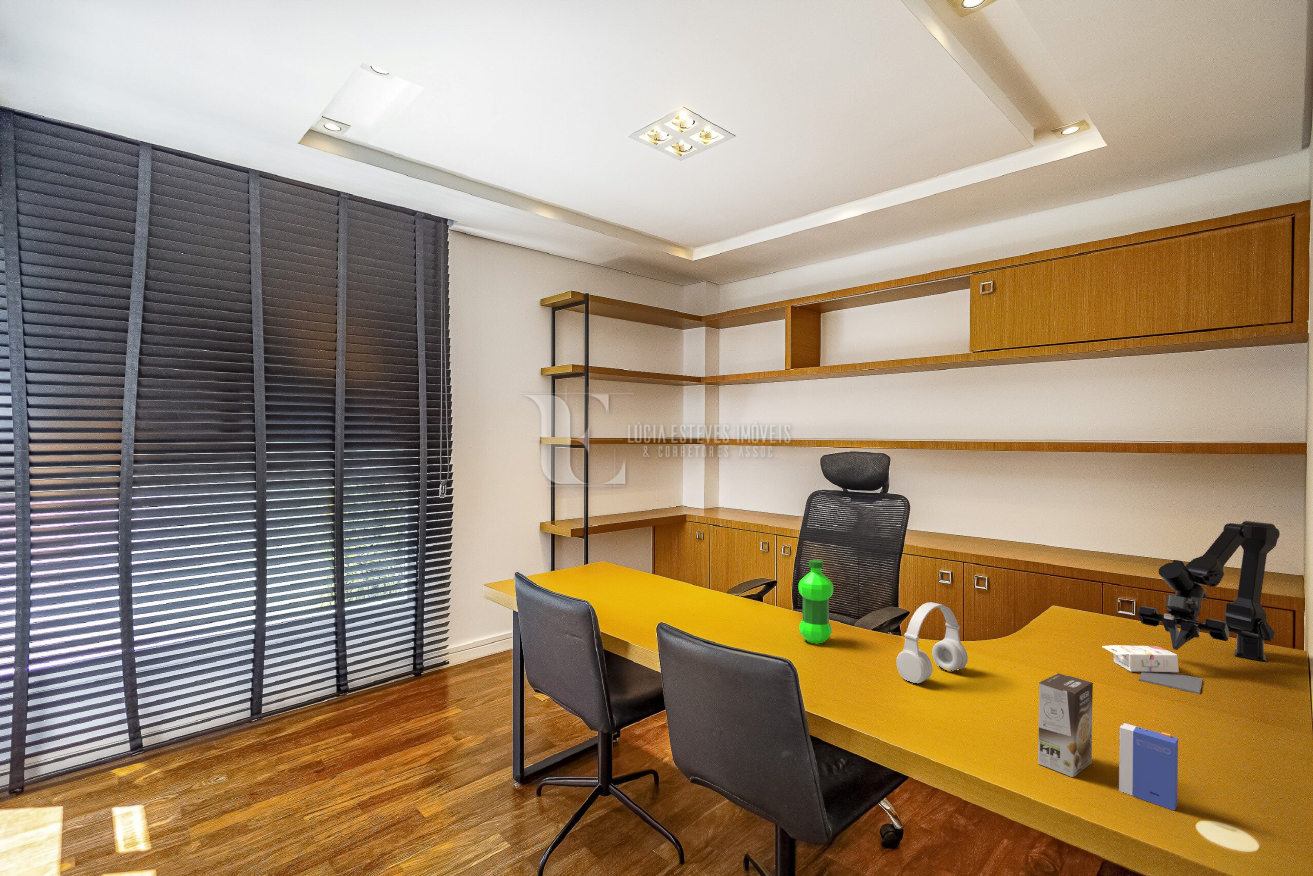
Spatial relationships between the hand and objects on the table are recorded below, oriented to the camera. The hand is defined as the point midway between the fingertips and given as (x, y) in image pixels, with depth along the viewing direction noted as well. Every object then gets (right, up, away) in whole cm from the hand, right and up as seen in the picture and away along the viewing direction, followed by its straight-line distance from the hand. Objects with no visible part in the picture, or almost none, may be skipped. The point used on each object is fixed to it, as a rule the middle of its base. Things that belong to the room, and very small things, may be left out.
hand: (1174, 648), depth 165 cm
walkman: (-53, -7, -56) cm, 78 cm away
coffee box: (-60, -7, -45) cm, 75 cm away
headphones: (-66, -7, -1) cm, 67 cm away
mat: (-4, -7, -4) cm, 9 cm away
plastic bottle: (-91, -7, +25) cm, 94 cm away
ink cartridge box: (+1, -4, +3) cm, 5 cm away
